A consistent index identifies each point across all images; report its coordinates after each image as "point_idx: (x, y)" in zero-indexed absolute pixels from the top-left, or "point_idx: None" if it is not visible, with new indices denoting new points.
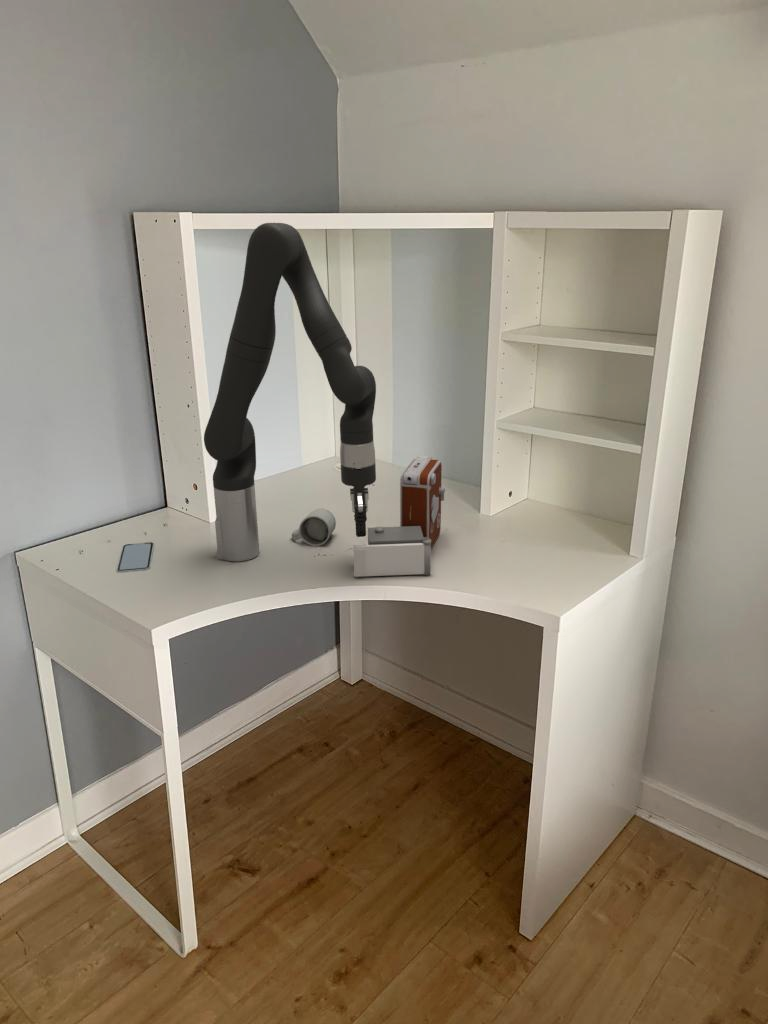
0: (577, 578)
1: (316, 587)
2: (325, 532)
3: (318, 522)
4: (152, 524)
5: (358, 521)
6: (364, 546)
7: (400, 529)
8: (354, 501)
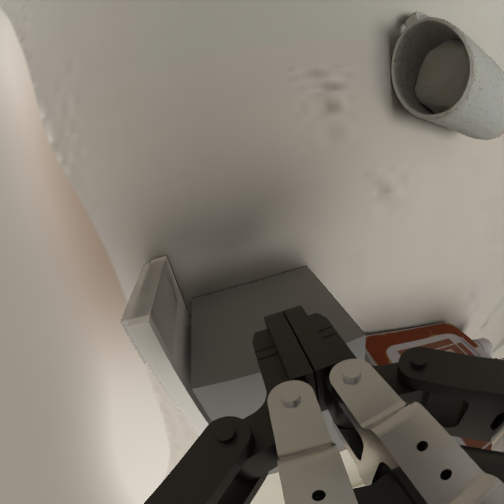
0: (254, 499)
1: (63, 154)
2: (436, 104)
3: (460, 79)
4: None
5: (261, 412)
6: (154, 368)
7: (333, 427)
8: (476, 393)
